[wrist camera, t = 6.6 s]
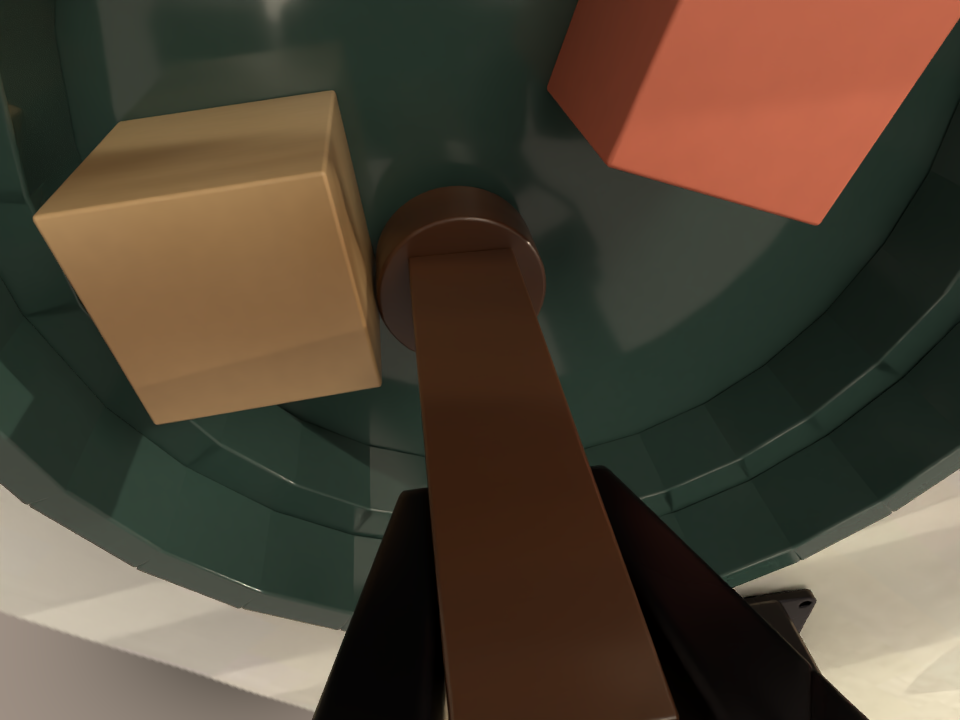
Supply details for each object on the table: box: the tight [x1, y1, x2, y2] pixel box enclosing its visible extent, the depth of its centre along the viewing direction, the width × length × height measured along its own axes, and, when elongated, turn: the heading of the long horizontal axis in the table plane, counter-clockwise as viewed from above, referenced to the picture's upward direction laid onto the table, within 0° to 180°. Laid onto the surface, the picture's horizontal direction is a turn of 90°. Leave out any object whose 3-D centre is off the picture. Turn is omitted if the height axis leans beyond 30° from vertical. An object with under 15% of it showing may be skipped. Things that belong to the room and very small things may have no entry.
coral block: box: [547, 0, 960, 225], centre depth 10 cm, size 4×4×4 cm
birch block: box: [33, 90, 382, 425], centre depth 11 cm, size 4×4×4 cm
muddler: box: [376, 186, 679, 720], centre depth 10 cm, size 3×3×10 cm
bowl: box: [0, 0, 960, 631], centre depth 12 cm, size 22×22×5 cm
